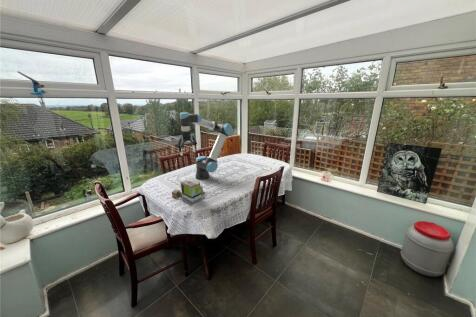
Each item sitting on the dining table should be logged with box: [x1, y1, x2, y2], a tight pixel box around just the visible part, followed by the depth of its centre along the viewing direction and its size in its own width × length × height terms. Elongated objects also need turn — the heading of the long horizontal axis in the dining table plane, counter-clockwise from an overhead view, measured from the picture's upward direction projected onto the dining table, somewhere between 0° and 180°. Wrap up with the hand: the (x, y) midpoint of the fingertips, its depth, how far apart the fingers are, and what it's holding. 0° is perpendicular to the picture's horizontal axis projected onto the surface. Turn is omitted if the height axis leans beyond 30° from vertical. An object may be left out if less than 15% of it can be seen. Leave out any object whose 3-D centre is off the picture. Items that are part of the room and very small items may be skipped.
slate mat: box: [180, 194, 206, 206], centre depth 161 cm, size 16×14×1 cm
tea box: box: [180, 178, 202, 202], centre depth 159 cm, size 15×10×15 cm
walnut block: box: [171, 189, 181, 199], centre depth 164 cm, size 5×5×5 cm
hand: (188, 153), depth 169 cm, fingers open, 13 cm apart
